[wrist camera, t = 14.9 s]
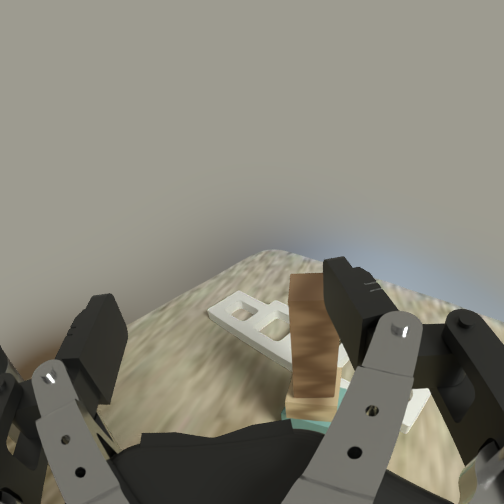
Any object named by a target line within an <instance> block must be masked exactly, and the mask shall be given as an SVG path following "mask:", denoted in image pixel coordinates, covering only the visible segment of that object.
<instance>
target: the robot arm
mask: <svg viewBox="0 0 504 504" xmlns="http://www.w3.org/2000/svg"><path fill="white" fill-rule="evenodd" d="M323 297H324V304H325V307H326V310H327V313H328V315H329V317H330V319H331V321H332V323H333V325H334V327H335V329H336V331H337V334H338V336H339V338H340V340H341V342H342V344H343V346H344V348H345V351H346V353H347V355H348V357H349V359H350V361H351V364H352V366H353V368H354V370H355V373H354V375H353V377H352V380H351V382H350V384H349V386H348V389H347V391H346V393H345V395H344V397H343V399H342V402H341V404H340V406H339V408H338V410H337V412H336V414H335V416H334V418H333V420H332V422H331V424H330V426H329V428H328V430H327V432H326V434H323V433H320V432H317V431H312V430H307V429H293V427H292V423H291V419H285V420H280V421H274V422H268V423H262V424H255V425H251V426H248V427H245V428H243V429H240V430H237V431H234V432H231V433H228V434H225V435H222V436H219V437H215V438H209V437H201V436H195V435H188V434H182V433H177V432H171V433H142V435H141V443H140V444H137V445H134V446H131V447H129V448H127V449H125V450H123V451H122V450H121V449H120V447H119V446H118V444H117V443H116V441H115V439H114V438H113V436H112V434H111V433H110V431H109V429H108V428H107V426H106V424H105V423H104V421H103V419H102V417H101V415H100V414H99V413H98V411H97V406H98V404H109V405H110V402H111V398H112V394H113V390H114V387H115V383H116V379H117V375H118V372H119V368H120V364H121V361H122V357H123V354H124V350H125V347H126V343H127V340H128V331H127V327H126V324H125V322H124V319H123V317H122V315H121V312H120V310H119V308H118V305H117V303H116V301H115V298H114V296H113V295H112V294H110V293H109V294H102V295H95V296H92V298H91V299H90V301H89V303H88V305H87V307H86V309H84V310H83V311H82V312H81V313H80V314H79V315H78V316H77V317H76V318H75V319H74V321H73V323H72V325H71V329H69V331H68V333H67V336H66V337H65V339H64V341H63V343H62V345H61V347H60V349H59V351H58V353H57V355H56V357H55V359H54V360H49V361H46V362H44V363H43V364H41V365H40V366H39V367H38V368H37V369H36V370H35V371H34V373H33V375H32V379H30V380H27V381H24V380H23V378H22V377H21V376H20V374H19V373H18V371H17V370H16V369H15V367H14V366H13V365H12V363H11V362H10V360H9V359H8V357H7V356H6V354H5V353H4V351H3V350H2V348H1V346H0V504H41V498H42V491H43V485H44V480H45V475H46V469H47V465H48V463H49V465H50V468H51V470H52V473H53V475H54V478H55V480H56V483H57V485H58V487H59V490H60V492H61V494H62V496H63V499H64V501H65V504H454V503H452V502H450V501H448V500H446V499H444V498H442V497H440V496H438V495H436V494H433V493H431V492H429V491H427V490H425V489H423V488H421V487H419V486H417V485H415V484H413V483H411V482H410V481H408V480H406V479H404V478H402V477H400V476H398V475H396V474H395V473H393V472H391V471H389V470H387V469H386V468H387V466H388V463H389V460H390V458H391V455H392V452H393V449H394V446H395V444H396V441H397V438H398V435H399V431H400V428H401V425H402V422H403V419H404V415H405V412H406V408H407V405H408V401H409V397H410V393H411V390H412V389H425V388H428V389H429V391H430V393H431V395H432V397H433V399H434V401H435V403H436V405H437V407H438V409H439V411H440V413H441V415H442V417H443V419H444V421H445V423H446V425H447V427H448V429H449V432H450V434H451V436H452V438H453V440H454V442H455V445H456V447H457V449H458V451H459V454H460V456H461V458H462V461H463V463H464V465H465V468H464V469H463V470H462V472H461V474H460V477H459V482H458V483H459V491H460V500H459V504H504V345H503V343H502V342H501V341H500V340H499V338H498V337H497V336H496V335H495V333H494V332H493V331H492V330H491V328H490V327H489V326H488V325H487V324H486V322H485V321H484V320H483V319H482V318H481V317H480V316H479V315H478V314H477V313H475V312H473V311H470V310H466V309H458V310H454V311H452V312H450V313H449V314H448V316H447V318H446V321H445V324H422V323H421V321H420V320H419V319H418V318H417V317H416V316H415V315H413V314H411V313H408V312H404V311H399V310H398V309H397V307H396V306H395V305H394V303H393V302H392V301H391V300H390V298H389V297H388V296H387V294H386V293H385V292H384V290H383V289H381V287H380V285H379V284H378V283H376V280H375V279H374V278H373V276H372V275H371V274H370V273H369V272H367V271H365V270H364V269H362V268H360V267H356V268H352V266H351V265H350V264H349V262H348V261H347V260H346V258H345V257H337V258H331V259H326V260H324V261H323ZM7 436H9V437H10V438H11V439H12V440H13V441H14V442H16V443H17V444H16V447H15V451H14V454H13V455H12V454H11V453H10V452H9V451H8V449H7V445H6V440H7Z"/></svg>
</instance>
